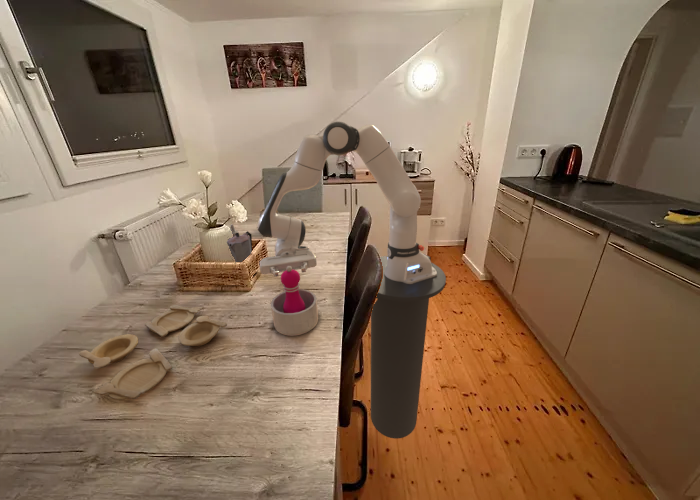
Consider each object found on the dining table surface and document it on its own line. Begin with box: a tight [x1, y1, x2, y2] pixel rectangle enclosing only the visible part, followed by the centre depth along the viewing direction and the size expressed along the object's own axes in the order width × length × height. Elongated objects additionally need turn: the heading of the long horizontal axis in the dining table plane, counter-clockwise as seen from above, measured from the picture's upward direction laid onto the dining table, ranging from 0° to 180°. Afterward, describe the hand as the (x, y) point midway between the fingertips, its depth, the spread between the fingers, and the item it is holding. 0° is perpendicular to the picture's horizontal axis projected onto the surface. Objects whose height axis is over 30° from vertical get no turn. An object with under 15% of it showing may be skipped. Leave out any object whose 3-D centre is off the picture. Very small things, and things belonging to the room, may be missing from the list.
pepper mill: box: [280, 266, 305, 313], centre depth 90 cm, size 7×7×20 cm
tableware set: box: [78, 304, 228, 400], centre depth 84 cm, size 35×29×4 cm
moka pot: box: [226, 230, 253, 263], centre depth 122 cm, size 10×15×20 cm, turn 170°
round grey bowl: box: [270, 288, 319, 337], centre depth 93 cm, size 15×15×8 cm
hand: (290, 272), depth 97 cm, fingers open, 8 cm apart
